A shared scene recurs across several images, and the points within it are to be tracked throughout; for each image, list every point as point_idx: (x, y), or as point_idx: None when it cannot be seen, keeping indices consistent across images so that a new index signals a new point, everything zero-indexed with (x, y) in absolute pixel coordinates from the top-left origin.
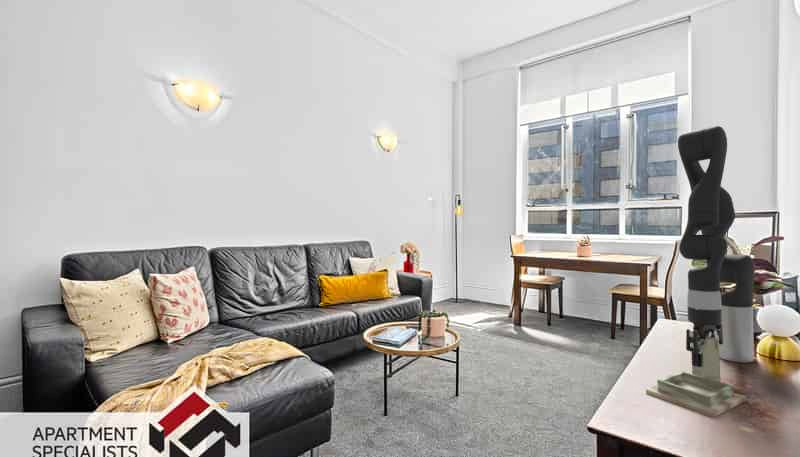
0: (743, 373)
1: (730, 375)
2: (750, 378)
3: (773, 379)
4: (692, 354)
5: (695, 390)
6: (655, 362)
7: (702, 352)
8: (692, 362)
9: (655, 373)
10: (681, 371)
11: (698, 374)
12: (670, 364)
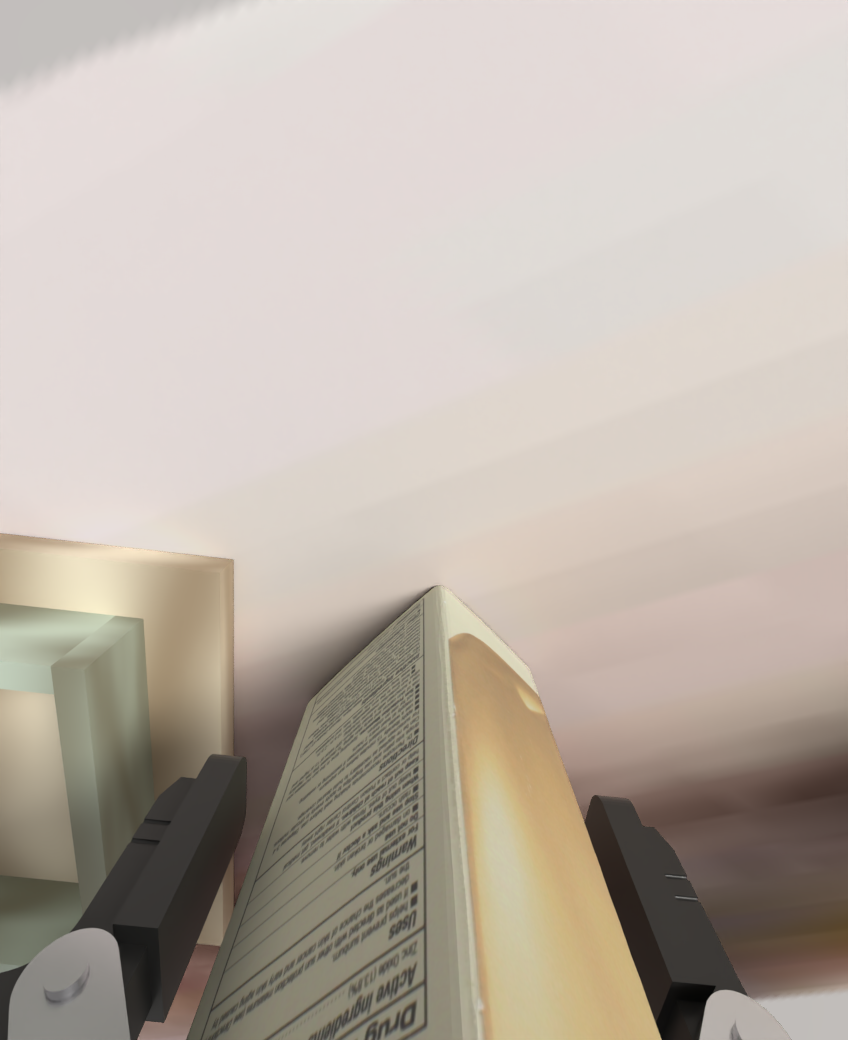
0: (801, 801)
1: (678, 760)
2: (705, 850)
3: (788, 929)
4: (87, 914)
5: (20, 750)
6: (575, 152)
7: (189, 1037)
8: (162, 795)
9: (199, 335)
10: (62, 671)
11: (348, 685)
12: (627, 316)
